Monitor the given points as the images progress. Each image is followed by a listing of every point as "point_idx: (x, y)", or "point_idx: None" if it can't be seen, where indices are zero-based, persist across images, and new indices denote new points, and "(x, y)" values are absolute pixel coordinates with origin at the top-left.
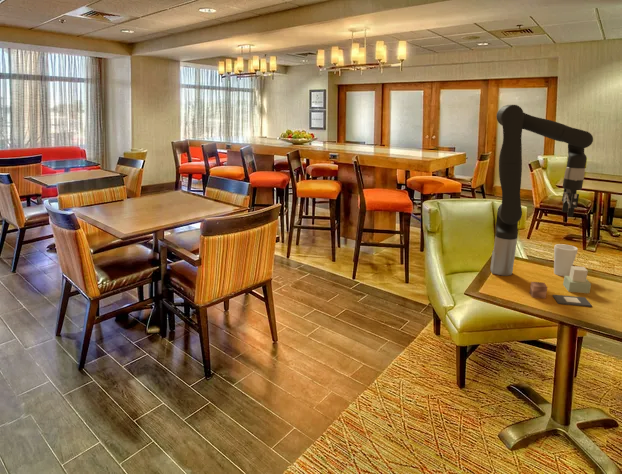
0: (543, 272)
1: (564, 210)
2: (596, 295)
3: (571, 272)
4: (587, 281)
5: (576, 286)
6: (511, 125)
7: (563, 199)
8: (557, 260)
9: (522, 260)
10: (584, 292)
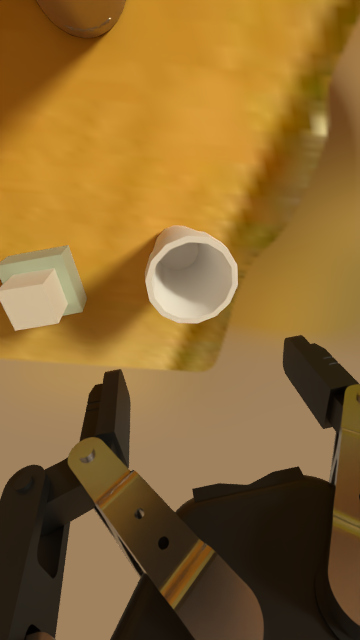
0: (167, 188)
1: (292, 357)
2: None
3: (32, 278)
4: None
5: None
6: None
7: (353, 435)
8: (160, 240)
9: (292, 108)
10: None
